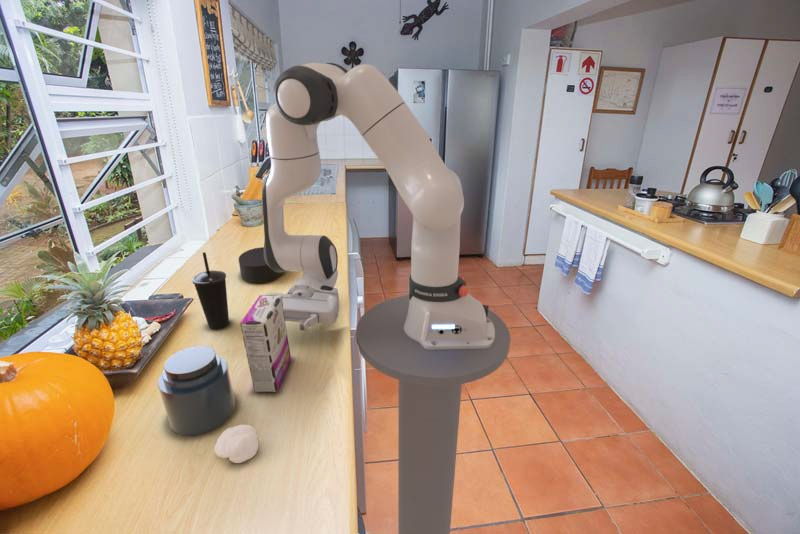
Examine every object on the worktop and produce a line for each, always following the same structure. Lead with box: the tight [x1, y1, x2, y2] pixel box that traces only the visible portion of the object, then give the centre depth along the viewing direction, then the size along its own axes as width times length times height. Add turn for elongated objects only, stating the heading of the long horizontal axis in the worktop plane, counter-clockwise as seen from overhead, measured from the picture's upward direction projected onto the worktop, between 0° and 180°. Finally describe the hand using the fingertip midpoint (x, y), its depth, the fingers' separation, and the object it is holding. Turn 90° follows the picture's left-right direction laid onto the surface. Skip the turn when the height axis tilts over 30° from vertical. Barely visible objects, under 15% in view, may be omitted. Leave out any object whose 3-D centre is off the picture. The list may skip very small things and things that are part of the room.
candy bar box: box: [239, 294, 292, 393], centre depth 78 cm, size 11×5×16 cm, turn 0°
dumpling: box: [214, 424, 259, 464], centre depth 63 cm, size 7×5×4 cm
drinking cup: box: [191, 251, 230, 330], centre depth 96 cm, size 8×8×20 cm
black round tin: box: [238, 246, 283, 285], centre depth 130 cm, size 14×18×8 cm
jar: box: [157, 345, 236, 437], centre depth 69 cm, size 11×11×12 cm
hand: (282, 326), depth 85 cm, fingers open, 8 cm apart
